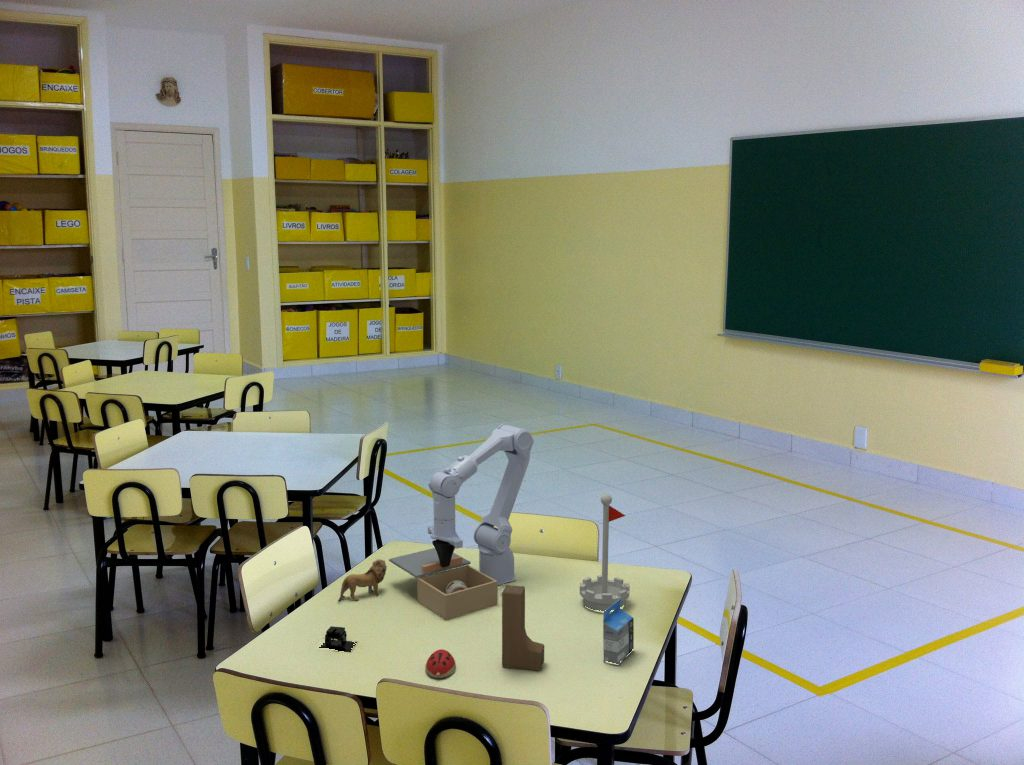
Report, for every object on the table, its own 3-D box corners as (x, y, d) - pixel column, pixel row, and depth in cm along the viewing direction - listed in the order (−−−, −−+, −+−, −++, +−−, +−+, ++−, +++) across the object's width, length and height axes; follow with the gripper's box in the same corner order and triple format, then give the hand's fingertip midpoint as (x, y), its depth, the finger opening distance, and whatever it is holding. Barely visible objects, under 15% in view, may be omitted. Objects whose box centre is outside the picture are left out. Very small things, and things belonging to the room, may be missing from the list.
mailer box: (468, 587, 245) (468, 564, 244) (497, 604, 234) (497, 581, 232) (417, 601, 235) (417, 578, 234) (445, 620, 224) (445, 595, 223)
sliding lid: (441, 548, 255) (441, 540, 255) (470, 564, 243) (470, 555, 243) (389, 561, 246) (388, 552, 245) (416, 578, 234) (416, 569, 233)
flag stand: (572, 609, 231) (574, 498, 225) (587, 591, 243) (589, 484, 237) (621, 618, 226) (624, 504, 221) (634, 598, 238) (637, 490, 233)
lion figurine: (381, 586, 245) (380, 555, 244) (391, 592, 241) (390, 560, 240) (333, 600, 236) (332, 568, 235) (343, 607, 232) (342, 574, 231)
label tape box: (617, 666, 201) (619, 615, 199) (601, 662, 203) (602, 611, 201) (634, 651, 208) (635, 601, 206) (618, 647, 210) (619, 597, 208)
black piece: (305, 652, 209) (304, 633, 208) (317, 638, 216) (316, 620, 215) (356, 656, 206) (355, 638, 206) (366, 642, 213) (366, 624, 213)
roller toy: (471, 605, 233) (471, 584, 232) (447, 608, 231) (447, 587, 230) (467, 598, 237) (466, 578, 236) (443, 601, 235) (443, 581, 234)
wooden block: (544, 662, 203) (545, 587, 200) (541, 671, 198) (541, 595, 195) (505, 658, 205) (505, 584, 202) (501, 667, 200) (501, 591, 197)
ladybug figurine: (456, 659, 204) (456, 645, 204) (455, 681, 195) (455, 666, 194) (426, 659, 204) (426, 645, 204) (424, 681, 194) (424, 666, 194)
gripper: (417, 513, 239) (418, 561, 241) (446, 527, 227) (446, 578, 230) (440, 508, 243) (440, 555, 245) (469, 522, 231) (469, 572, 234)
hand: (445, 566), depth 238 cm, fingers closed
